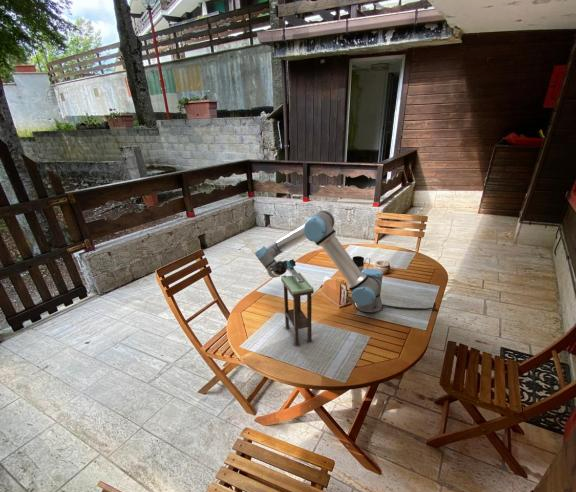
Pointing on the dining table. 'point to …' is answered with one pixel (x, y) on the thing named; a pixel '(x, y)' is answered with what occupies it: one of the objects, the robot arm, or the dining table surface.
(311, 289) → the tray
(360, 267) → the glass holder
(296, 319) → the stand
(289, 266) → the blue grooved block
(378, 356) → the dining table surface
